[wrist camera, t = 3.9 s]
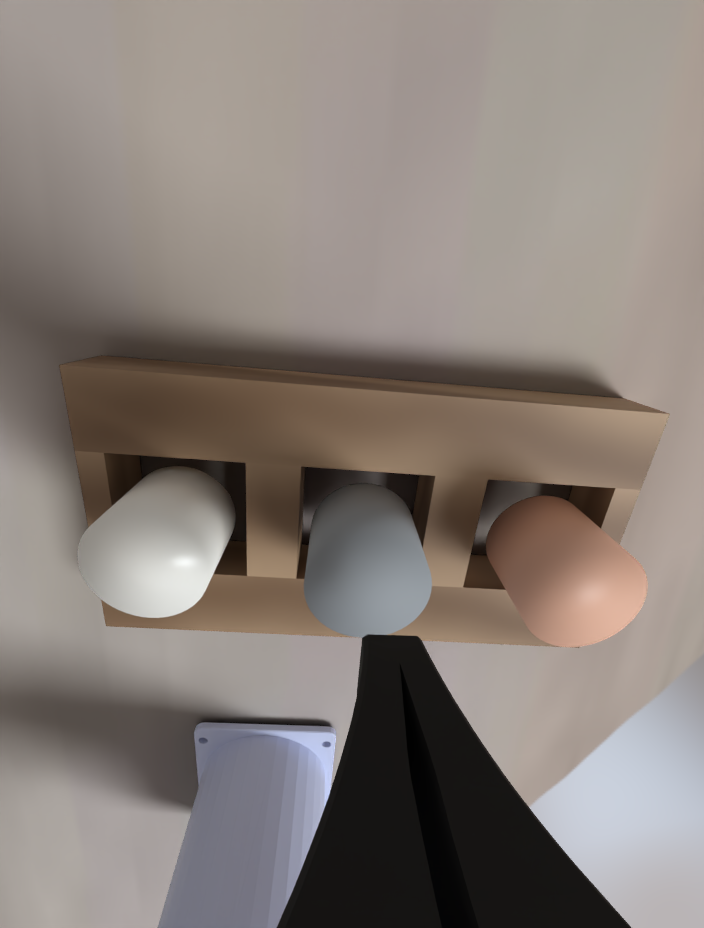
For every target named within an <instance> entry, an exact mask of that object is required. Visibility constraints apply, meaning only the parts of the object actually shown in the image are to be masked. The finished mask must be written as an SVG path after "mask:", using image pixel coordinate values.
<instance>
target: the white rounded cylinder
mask: <svg viewBox="0 0 704 928" xmlns="http://www.w3.org/2000/svg"><path fill="white" fill-rule="evenodd" d="M235 523H236V511H235V507H234V503H233V501H232V499H231V497H230V495H229V493H228V492H227V491H226V489H225V488H224V487H223V486H222V485H221V484H220V483H219V482H218V481H217V480H216V479H214V478H213V477H211V476H210V475H208V474H206V473H204V472H202V471H200V470H197V469H194V468H190V467H184V466H169V467H164V468H160V469H157V470H155V471H153V472H151V473H149V474H148V475H147V476H145V477H144V478H143V479H142V480H141V481H140V482H138V483H137V484H136V485H135V486H134V487H133V488H132V489H131V490H130V491H128V492H127V493H126V494H125V495H124V496H123V497H122V498H121V499H119V500H118V501H117V502H116V503H115V504H114V505H113V506H112V507H111V508H109V509H108V510H107V511H106V512H105V513H104V514H103V515H102V516H101V517H99V518H98V519H97V520H96V521H95V522H94V523H93V524H92V525H90V527H89V528H88V529H87V530H86V531H85V532H84V534H83V536H82V537H81V540H80V542H79V546H78V550H77V560H78V566H79V569H80V572H81V575H82V577H83V579H84V580H85V582H86V584H87V585H88V586H89V588H90V589H91V590H92V591H93V592H94V593H95V594H96V595H97V596H98V597H99V598H100V599H101V600H103V601H104V602H105V603H107V604H109V605H110V606H112V607H114V608H116V609H118V610H120V611H122V612H125V613H128V614H131V615H134V616H140V617H147V618H162V617H169V616H173V615H176V614H179V613H182V612H184V611H186V610H188V609H189V608H191V607H192V606H194V605H195V604H196V603H197V602H198V601H199V600H200V598H201V597H202V596H203V594H204V592H205V591H206V589H207V586H208V584H209V582H210V580H211V578H212V576H213V574H214V571H215V569H216V567H217V565H218V563H219V561H220V559H221V556H222V554H223V552H224V550H225V548H226V546H227V544H228V541H229V539H230V537H231V535H232V533H233V530H234V528H235Z"/></svg>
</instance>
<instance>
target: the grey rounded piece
mask: <svg viewBox="0 0 704 928" xmlns="http://www.w3.org/2000/svg"><path fill="white" fill-rule="evenodd" d="M431 589H432V578H431V573H430V569H429V566H428V563H427V560H426V557H425V554H424V551H423V548H422V545H421V542H420V539H419V536H418V533H417V530H416V527H415V524H414V521H413V518H412V515H411V513H410V510H409V508H408V506H407V505H406V503H405V502H404V501H403V500H402V499H401V498H400V497H399V496H398V495H397V494H396V493H394V492H393V491H391V490H389V489H387V488H385V487H382V486H379V485H375V484H368V483H360V484H352V485H348V486H345V487H342V488H340V489H338V490H336V491H334V492H332V493H331V494H329V495H328V496H327V497H326V498H325V499H324V500H323V501H322V502H321V503H320V504H319V506H318V508H317V509H316V511H315V513H314V516H313V519H312V525H311V533H310V540H309V548H308V556H307V564H306V571H305V579H304V595H305V600H306V602H307V605H308V607H309V609H310V611H311V612H312V613H313V615H314V616H315V617H316V618H317V619H318V620H319V621H320V622H321V623H322V624H324V625H325V626H326V627H328V628H330V629H331V630H333V631H336V632H338V633H340V634H344V635H347V636H352V637H360V638H363V637H364V636H366V635H367V634H374V635H388V634H391V633H394V632H396V631H398V630H400V629H402V628H404V627H406V626H407V625H409V624H410V623H411V622H413V621H414V620H415V619H416V618H417V617H418V616H419V615H420V614H421V612H422V611H423V610H424V608H425V606H426V605H427V603H428V600H429V598H430V594H431Z"/></svg>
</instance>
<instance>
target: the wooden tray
mask: <svg viewBox="0 0 704 928" xmlns="http://www.w3.org/2000/svg"><path fill="white" fill-rule="evenodd" d="M59 367H60V372H61V378H62V383H63V389H64V394H65V400H66V406H67V411H68V417H69V422H70V428H71V433H72V439H73V445H74V450H75V456H76V461H77V467H78V472H79V478H80V484H81V489H82V495H83V500H84V506H85V511H86V517H87V523H88V528H89V527H90V525H92V524H93V523H94V522H95V521H96V520H97V519H98V518H99V517H101V516H102V515H103V514H104V513H105V512H106V511H107V510H108V509H109V508H111V507H112V506H113V505H114V504H115V503H116V502H117V501H118V500H119V499H121V498H122V497H123V496H124V495H125V494H126V493H127V492H128V491H130V490H131V489H132V488H133V487H134V486H135V485H136V484H137V483H138V482H140V481H141V480H142V474H141V466H140V457H139V455H142V456H156V457H171V458H185V459H200V460H214V461H228V462H243V463H246V531H247V542H246V541H228V544H227V546H226V548H225V550H224V552H223V554H222V556H221V559H220V561H219V563H218V565H217V567H216V569H215V571H214V574H213V576H212V578H211V580H210V582H209V584H208V586H207V589H206V591H205V592H204V594H203V596H202V597H201V598H200V600H199V601H198V602H197V603H196V604H195V605H194V606H192V607H191V608H189V609H188V610H186V611H184V612H182V613H179V614H176V615H173V616H169V617H162V618H147V617H140V616H134V615H131V614H128V613H125V612H122V611H120V610H118V609H116V608H114V607H112V606H110V605H109V604H107V603H105V602H104V601H103V600H101V601H102V606H103V612H104V617H105V623H106V626H114V627H136V628H158V629H180V630H202V631H224V632H246V633H268V634H289V635H311V636H333V637H352V636H347V635H344V634H340V633H338V632H336V631H333V630H331V629H330V628H328V627H326V626H325V625H324V624H322V623H321V622H320V621H319V620H318V619H317V618H316V617H315V616H314V615H313V613H312V612H311V611H310V609H309V607H308V605H307V602H306V600H305V595H304V579H305V571H306V564H307V556H308V548H309V545H302V525H303V504H304V482H305V467H315V468H330V469H344V470H359V471H373V472H388V473H402V474H417V475H419V479H418V485H417V492H416V498H415V504H414V510H413V517H412V518H413V521H414V524H415V527H416V530H417V533H418V536H419V539H420V542H421V545H422V548H423V551H424V554H425V557H426V560H427V563H428V566H429V569H430V573H431V578H432V589H431V594H430V598H429V600H428V603H427V605H426V606H425V608H424V610H423V611H422V612H421V614H420V615H419V616H418V617H417V618H416V619H415V620H414V621H413V622H411V623H410V624H409V625H407V626H406V627H404V628H402V629H400V630H398V631H396V632H394V633H391V634H388V635H406V636H418V637H419V638H420V639H421V640H422V641H443V642H465V643H487V644H509V645H530V646H552V647H561V646H556V645H552V644H549V643H546V642H544V641H542V640H540V639H539V638H537V637H536V636H534V635H533V634H532V633H531V632H530V630H529V629H528V628H527V626H526V624H525V623H524V621H523V619H522V617H521V616H520V614H519V612H518V610H517V609H516V607H515V605H514V603H513V602H512V600H511V598H510V596H509V595H508V593H507V591H506V589H505V588H504V586H503V584H502V582H501V581H500V579H499V577H498V575H497V574H496V572H495V570H494V568H493V567H492V565H491V563H490V561H489V559H488V556H487V555H471V551H472V546H473V542H474V537H475V533H476V529H477V524H478V520H479V516H480V511H481V507H482V503H483V498H484V494H485V490H486V485H487V481H488V479H489V480H504V481H518V482H533V483H547V484H561V485H573V487H572V490H571V493H570V496H569V499H568V501H569V502H570V503H572V504H573V505H574V506H575V507H577V508H578V509H579V510H580V511H581V512H582V513H583V514H585V515H586V516H587V517H588V518H589V519H590V520H591V521H593V522H594V523H595V524H596V525H597V526H598V527H599V528H601V529H602V530H603V531H604V532H605V533H606V534H608V535H609V536H610V537H611V538H612V539H613V540H614V541H616V542H617V543H618V544H620V542H621V539H622V537H623V534H624V531H625V529H626V526H627V524H628V521H629V519H630V516H631V513H632V511H633V508H634V506H635V503H636V500H637V498H638V495H639V493H640V490H641V488H642V485H643V482H644V480H645V477H646V475H647V472H648V470H649V467H650V464H651V462H652V459H653V457H654V454H655V451H656V449H657V446H658V444H659V441H660V439H661V436H662V433H663V431H664V428H665V426H666V423H667V421H668V418H669V415H670V414H668V413H665V412H662V411H659V410H657V409H654V408H651V407H648V406H645V405H642V404H639V403H636V402H633V401H630V400H627V399H624V398H612V397H600V396H588V395H576V394H564V393H552V392H539V391H527V390H515V389H503V388H491V387H479V386H466V385H454V384H442V383H430V382H418V381H406V380H393V379H381V378H369V377H357V376H345V375H333V374H320V373H308V372H296V371H284V370H272V369H260V368H248V367H235V366H223V365H211V364H199V363H187V362H175V361H162V360H150V359H138V358H126V357H114V356H102V355H101V356H97V357H92V358H88V359H83V360H79V361H74V362H70V363H66V364H61V365H59ZM355 638H360V637H355ZM579 647H580V646H579ZM579 647H574V648H579Z"/></svg>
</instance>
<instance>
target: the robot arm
mask: <svg viewBox="0 0 704 928" xmlns="http://www.w3.org/2000/svg"><path fill="white" fill-rule="evenodd" d="M194 740H195V751H196V763H197V774H198V786H199V788H198V791H197V795H196V798H195V801H194V805H193V808H192V812H191V815H190V819H189V822H188V825H187V829H186V832H185V836H184V839H183V843H182V846H181V849H180V853H179V856H178V860H177V863H176V866H175V870H174V873H173V877H172V880H171V884H170V887H169V890H168V894H167V897H166V901H165V904H164V908H163V911H162V914H161V918H160V921H159V925H158V928H631V927H630V926H629V924H628V923H627V922H626V921H625V920H624V919H623V918H622V917H621V916H620V914H619V913H618V912H617V911H616V910H615V909H614V908H613V906H612V905H611V904H610V903H609V902H608V901H607V900H606V899H605V897H604V896H603V895H602V894H601V893H600V892H599V891H598V890H597V888H596V887H595V886H594V885H593V884H592V883H591V882H590V881H589V879H588V878H587V877H586V876H585V875H584V874H583V873H582V871H581V870H580V869H579V868H578V867H577V866H576V865H575V864H574V862H573V861H572V860H571V859H570V858H569V857H568V855H567V854H566V853H565V852H564V851H563V849H562V848H561V847H560V846H559V844H558V843H557V842H556V841H555V840H554V838H553V837H552V836H551V835H550V833H549V832H548V831H547V830H546V829H545V827H544V826H543V825H542V824H541V822H540V821H539V820H538V819H537V817H536V816H535V815H534V814H533V812H532V811H531V810H530V808H529V807H528V806H527V804H526V803H525V802H524V801H523V799H522V798H521V797H520V795H519V794H518V793H517V791H516V790H515V789H514V787H513V786H512V785H511V783H510V782H509V781H508V779H507V778H506V776H505V775H504V774H503V772H502V771H501V770H500V768H499V767H498V765H497V764H496V762H495V761H494V760H493V758H492V757H491V755H490V754H489V752H488V751H487V749H486V748H485V747H484V745H483V744H482V742H481V741H480V739H479V738H478V736H477V735H476V733H475V732H474V730H473V729H472V727H471V725H470V724H469V722H468V721H467V719H466V717H465V716H464V714H463V713H462V711H461V710H460V708H459V706H458V705H457V703H456V702H455V700H454V698H453V697H452V695H451V693H450V692H449V690H448V688H447V687H446V685H445V683H444V681H443V680H442V678H441V676H440V674H439V673H438V671H437V669H436V667H435V665H434V663H433V662H432V660H431V658H430V656H429V654H428V652H427V650H426V648H425V646H424V644H423V642H422V640H421V639H420V638H419V637H418V636H406V635H374V634H367V635H366V636H364V637H363V638H362V647H361V657H360V667H359V677H358V688H357V698H356V703H355V708H354V712H353V717H352V721H351V725H350V728H349V732H348V735H347V739H346V742H345V746H344V749H343V753H342V756H341V760H340V763H339V766H338V769H337V773H336V776H335V779H334V782H333V785H332V788H331V779H332V770H333V760H334V751H335V741H336V731H335V729H334V728H332V727H328V726H301V725H271V724H241V723H210V722H203V723H199V724H198V725H197V726H196V728H195V731H194ZM330 789H331V791H330Z"/></svg>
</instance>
